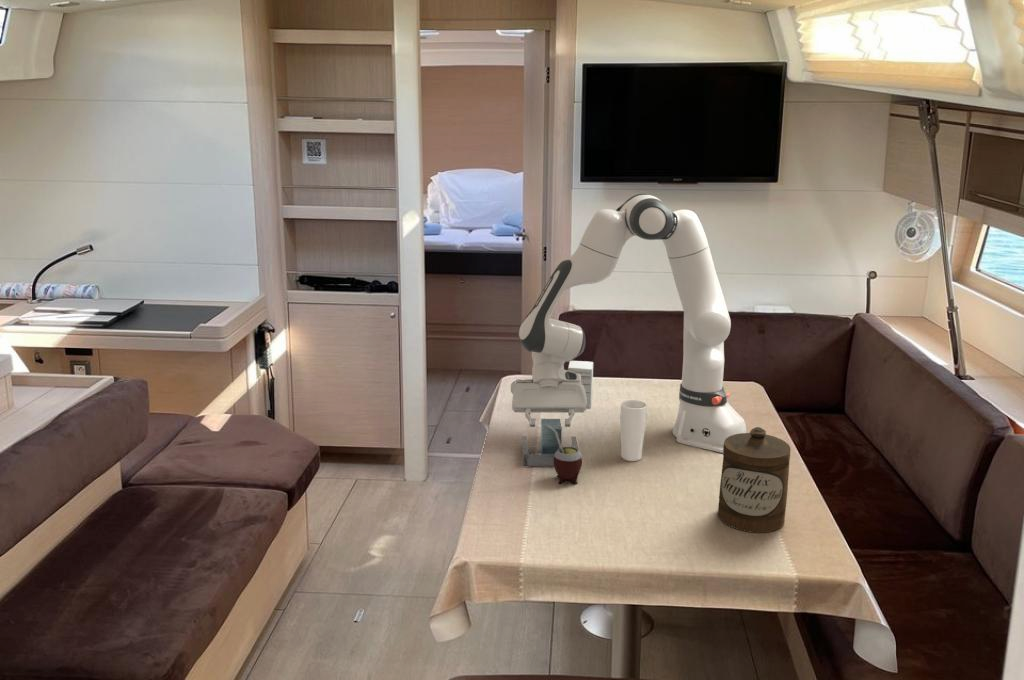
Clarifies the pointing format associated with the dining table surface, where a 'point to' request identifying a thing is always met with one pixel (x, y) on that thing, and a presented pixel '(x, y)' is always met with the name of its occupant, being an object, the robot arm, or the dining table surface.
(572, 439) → the coupler bay
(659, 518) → the dining table surface
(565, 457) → the mate gourd
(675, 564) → the dining table surface
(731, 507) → the wooden container
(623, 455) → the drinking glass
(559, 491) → the dining table surface
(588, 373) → the supplement box
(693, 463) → the dining table surface
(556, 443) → the block
